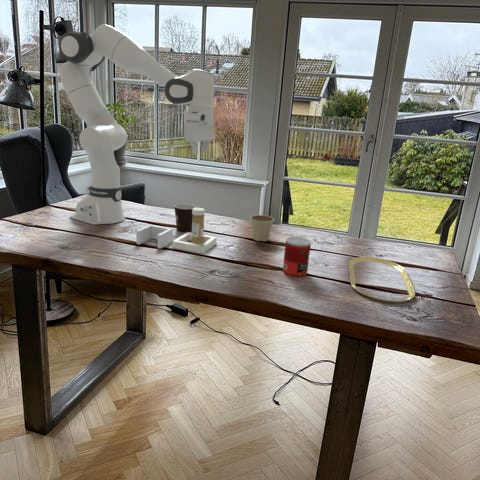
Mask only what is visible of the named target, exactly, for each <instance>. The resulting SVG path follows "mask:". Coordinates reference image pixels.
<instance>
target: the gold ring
mask: <svg viewBox="0 0 480 480" xmlns="http://www.w3.org/2000/svg"><path fill="white" fill-rule="evenodd" d="M363 262H365V263H366V262H367V263H368V262H369V263H370V262H371V263H377V264H378V263H379V264H383V265H387V266H389V267H391V268H394V269H396V270H397V271H398V272H399V273H400V275H401V278H402V280H403V283H404V285H405V288H406V291H407V294H408V297H407V298H406V299H401V300H398V299H396V300H395V299H393V300H392V299H386V298H379V297H376V296H372V295H370V294H367V293H364V292H362V291H360V290H359V289H358V288H357V286H356V279H355V270H354V266H355V265H356V264H357V263H363ZM348 267H349V278H350V279H349V280H350V285H351V287H352V288H353V290H355V292H357V293H358V294H360V295H362V296H363V297H365V298H368V299H370V300H374V301H378V302H381V303H388V304H401V303H406V302H409V301H411V300H412V299H413V298H414V297H415V295H416V291H415V288H414V286H413V284H412V281H411V280H410V278H409V275H408V273H407V271H406V269H405V267H403V265H402V266H401V265H400V264H398V263H396V262H393V261H391V260H387V259H384V258H378V257H371V256H370V257H369V256H359V257H355V258H352V259H350V260H349V262H348Z"/></svg>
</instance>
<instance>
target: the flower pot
mask: <svg viewBox="0 0 480 480" xmlns="http://www.w3.org/2000/svg"><path fill="white" fill-rule="evenodd" d="M249 219H250V222H251V229H252V231H251V232H252V239H253V240H254V241H255V242H268V241H269V240H270V239H269V238H270V233H271V229H272V226H273V223H274V221H275V218H274V217H272V216H270V215H265V214H254V215H251V216H250V217H249Z"/></svg>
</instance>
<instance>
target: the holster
mask: <svg viewBox="0 0 480 480" xmlns="http://www.w3.org/2000/svg"><path fill="white" fill-rule="evenodd" d="M173 231H174V228H171V227H170V228H169V227H164V226H160V225H154V224H148V225H145V226H144V227H141V228H139V229H138V230H136V232H135V234H136V237H135V238H136V245H142V244H144V243H146V242H148V240H152V239H153V240H157V249H163V248H164V247H166V246H168V245H170V244H171V243H173V241H174V240H173V237H174V232H173Z"/></svg>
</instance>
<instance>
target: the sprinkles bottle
mask: <svg viewBox="0 0 480 480" xmlns="http://www.w3.org/2000/svg"><path fill="white" fill-rule="evenodd" d="M205 213H206V209H205V208H202V207H196V208H193V209H192V215H193V218H192V232H191V233H192V241H191V242H190V243H194V244H199V245H200V244H203V236H204V235H205V234H204V230H205V215H206V214H205Z"/></svg>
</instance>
